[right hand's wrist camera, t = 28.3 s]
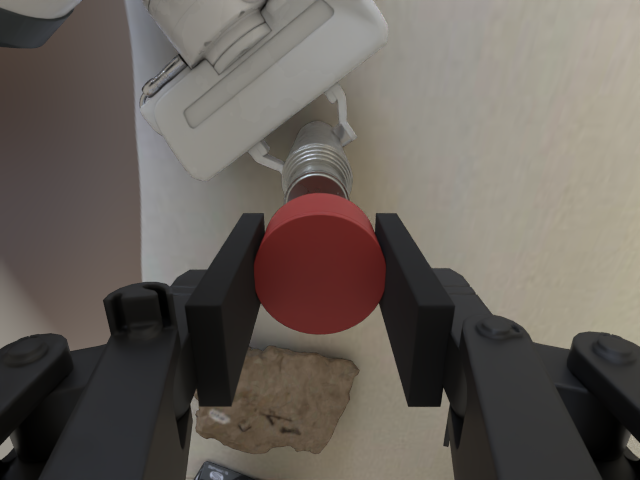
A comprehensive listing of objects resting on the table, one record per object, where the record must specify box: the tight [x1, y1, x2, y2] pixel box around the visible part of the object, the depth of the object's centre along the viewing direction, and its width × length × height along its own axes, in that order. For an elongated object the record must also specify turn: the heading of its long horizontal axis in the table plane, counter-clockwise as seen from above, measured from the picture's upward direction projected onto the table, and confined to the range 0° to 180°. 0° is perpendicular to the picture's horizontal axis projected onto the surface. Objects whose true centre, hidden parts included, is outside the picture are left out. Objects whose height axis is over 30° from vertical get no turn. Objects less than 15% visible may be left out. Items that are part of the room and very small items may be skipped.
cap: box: [254, 193, 386, 334], centre depth 13 cm, size 4×4×3 cm
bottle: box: [281, 121, 353, 205], centre depth 29 cm, size 4×4×23 cm
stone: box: [194, 346, 360, 454], centre depth 48 cm, size 21×15×6 cm
